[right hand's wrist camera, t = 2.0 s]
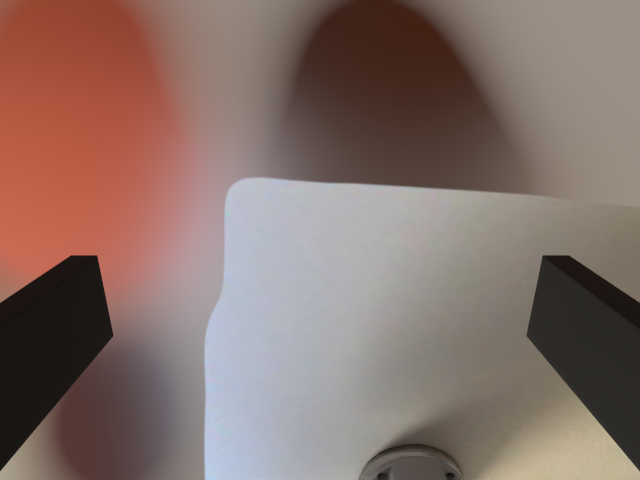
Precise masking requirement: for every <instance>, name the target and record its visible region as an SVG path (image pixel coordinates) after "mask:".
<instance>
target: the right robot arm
mask: <svg viewBox="0 0 640 480" xmlns="http://www.w3.org/2000/svg"><path fill="white" fill-rule="evenodd" d="M112 337H113V332H112V327H111V322H110V317H109V312H108V307H107V302H106V297H105V292H104V287H103V282H102V277H101V272H100V268H99V262H98V257H97V256H70V257H68V258H67V259H65V260H64V261H62V262H61V263H59V264H58V265H56V266H55V267H53V268H52V269H50V270H49V271H47V272H46V273H44V274H43V275H41V276H40V277H38V278H37V279H35V280H34V281H32V282H31V283H29V284H28V285H26V286H25V287H23V288H22V289H20V290H19V291H17V292H16V293H14V294H13V295H11V296H10V297H8V298H7V299H6V300H4V301H2V302H1V303H0V471H1V470H2V468H3V467H4V466H5V465H6V464H7V462H8V461H9V460H10V459H11V458H12V456H13V455H14V454H15V453H16V452H17V450H18V449H19V448H20V447H21V446H22V445H23V443H24V442H25V441H26V440H27V439H28V437H29V436H30V435H31V434H32V433H33V431H34V430H35V429H36V428H37V426H38V425H39V424H40V423H41V422H42V421H43V419H44V418H45V417H46V416H47V415H48V413H49V412H50V411H51V410H52V409H53V407H54V406H55V405H56V404H57V403H58V401H59V400H60V399H61V398H62V397H63V395H64V394H65V393H66V392H67V391H68V389H69V388H70V387H71V386H72V385H73V384H74V382H75V381H76V380H77V379H78V378H79V376H80V375H81V374H82V373H83V372H84V370H85V369H86V368H87V367H88V366H89V364H90V363H91V362H92V361H93V360H94V358H95V357H96V356H97V355H98V354H99V352H100V351H101V350H102V349H103V348H104V346H105V345H106V344H107V343H108V342H109V340H110V339H111V338H112ZM527 337H528V338H529V339H530V341H531V342H532V343H533V344H534V345H535V346H536V348H537V349H538V350H539V351H540V352H541V354H542V355H543V356H544V357H545V358H546V360H547V361H548V362H549V363H550V364H551V366H552V367H553V368H554V369H555V370H556V372H557V373H558V374H559V375H560V376H561V378H562V379H563V380H564V381H565V382H566V384H567V385H568V386H569V387H570V388H571V390H572V391H573V392H574V393H575V394H576V395H577V397H578V398H579V399H580V400H581V401H582V403H583V404H584V405H585V406H586V407H587V409H588V410H589V411H590V412H591V413H592V415H593V416H594V417H595V418H596V419H597V421H598V422H599V423H600V424H601V425H602V427H603V428H604V429H605V430H606V431H607V433H608V434H609V435H610V436H611V437H612V439H613V440H614V441H615V442H616V443H617V445H618V446H619V447H620V448H621V449H622V450H623V452H624V453H625V454H626V455H627V456H628V458H629V459H630V460H631V461H632V462H633V464H634V465H635V466H636V467H637V468H638V470H639V471H640V303H639V302H638V301H636V300H635V299H633V298H632V297H630V296H629V295H627V294H626V293H624V292H623V291H621V290H620V289H618V288H617V287H615V286H614V285H612V284H611V283H609V282H608V281H606V280H605V279H603V278H602V277H600V276H599V275H597V274H596V273H594V272H593V271H591V270H590V269H588V268H587V267H585V266H584V265H582V264H581V263H579V262H578V261H576V260H575V259H573V258H572V257H570V256H543V257H542V262H541V267H540V272H539V277H538V282H537V287H536V292H535V297H534V302H533V307H532V312H531V317H530V322H529V327H528V331H527ZM359 480H463V478H462V475H461V473H460V470H459V468H458V466H457V464H456V463H455V462H454V461H453V460H452V459H451V458H450V457H449V456H448V455H446V454H445V453H443V452H441V451H439V450H436V449H434V448H430V447H425V446H402V447H397V448H393V449H390V450H388V451H385V452H383V453H381V454H380V455H378V456H376V457H375V458H374V459H372V460H371V461H370V462H369V463H368V464H367V465H366V467H365V468H364V469H363V471H362V473H361V475H360V478H359Z"/></svg>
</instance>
